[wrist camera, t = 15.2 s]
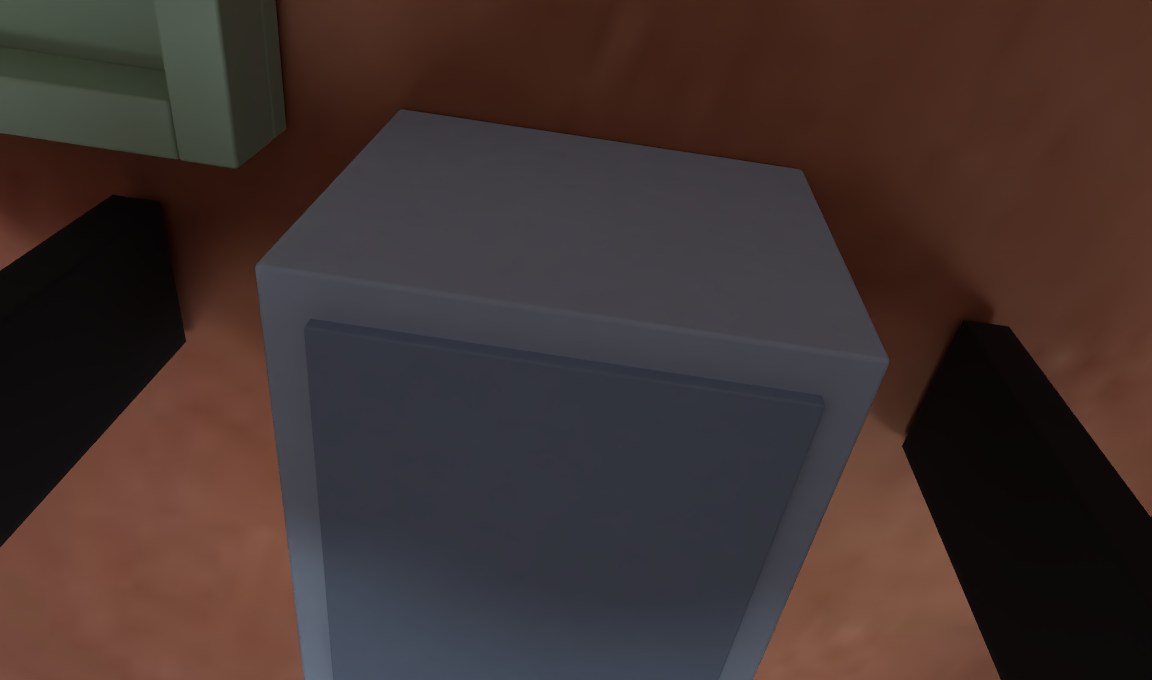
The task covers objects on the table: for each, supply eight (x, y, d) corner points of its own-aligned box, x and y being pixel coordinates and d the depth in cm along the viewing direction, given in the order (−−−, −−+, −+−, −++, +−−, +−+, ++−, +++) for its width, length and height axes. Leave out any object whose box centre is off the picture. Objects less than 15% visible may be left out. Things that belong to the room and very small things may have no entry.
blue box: (803, 168, 11) (897, 371, 7) (701, 505, 15) (721, 771, 11) (399, 107, 11) (243, 272, 7) (399, 460, 15) (299, 707, 11)
